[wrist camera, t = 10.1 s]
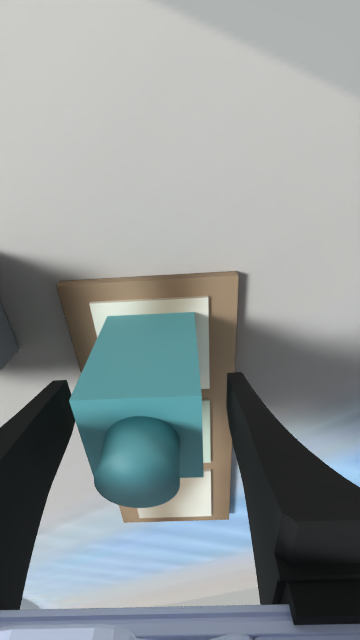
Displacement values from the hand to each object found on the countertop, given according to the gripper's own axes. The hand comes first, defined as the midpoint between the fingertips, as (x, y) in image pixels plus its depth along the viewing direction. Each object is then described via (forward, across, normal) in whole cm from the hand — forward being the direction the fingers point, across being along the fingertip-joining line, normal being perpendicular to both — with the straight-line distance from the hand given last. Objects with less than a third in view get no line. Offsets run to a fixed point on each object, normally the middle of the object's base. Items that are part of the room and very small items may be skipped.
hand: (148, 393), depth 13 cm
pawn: (+3, 0, 0) cm, 3 cm away
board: (+4, 0, +7) cm, 8 cm away
